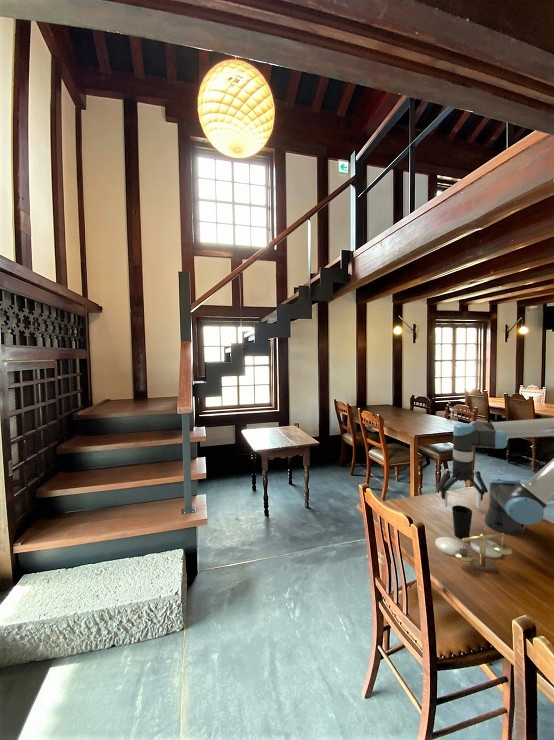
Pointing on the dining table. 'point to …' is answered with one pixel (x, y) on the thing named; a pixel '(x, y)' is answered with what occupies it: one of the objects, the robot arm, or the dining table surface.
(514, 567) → the dining table surface
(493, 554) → the white round plate
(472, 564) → the balance
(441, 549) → the low side dish
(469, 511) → the cup
